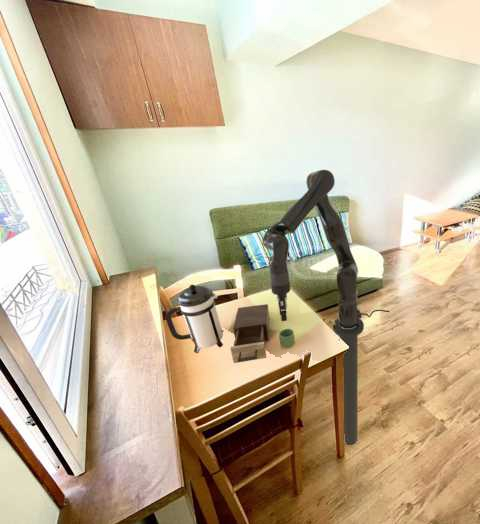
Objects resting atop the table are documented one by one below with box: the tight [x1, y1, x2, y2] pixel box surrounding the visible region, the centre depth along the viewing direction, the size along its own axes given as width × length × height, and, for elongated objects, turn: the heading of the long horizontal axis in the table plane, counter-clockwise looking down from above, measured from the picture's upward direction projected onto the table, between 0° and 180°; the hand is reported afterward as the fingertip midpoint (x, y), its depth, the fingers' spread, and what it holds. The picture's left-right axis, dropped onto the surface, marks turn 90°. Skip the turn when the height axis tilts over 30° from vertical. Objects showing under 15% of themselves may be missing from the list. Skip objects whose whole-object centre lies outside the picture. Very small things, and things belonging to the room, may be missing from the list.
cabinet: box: [232, 303, 271, 342], centre depth 129 cm, size 17×14×9 cm
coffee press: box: [165, 284, 224, 354], centre depth 116 cm, size 17×16×30 cm
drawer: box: [230, 326, 267, 364], centre depth 115 cm, size 20×13×7 cm, turn 13°
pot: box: [278, 328, 296, 349], centre depth 122 cm, size 6×6×6 cm
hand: (284, 314), depth 118 cm, fingers open, 8 cm apart
